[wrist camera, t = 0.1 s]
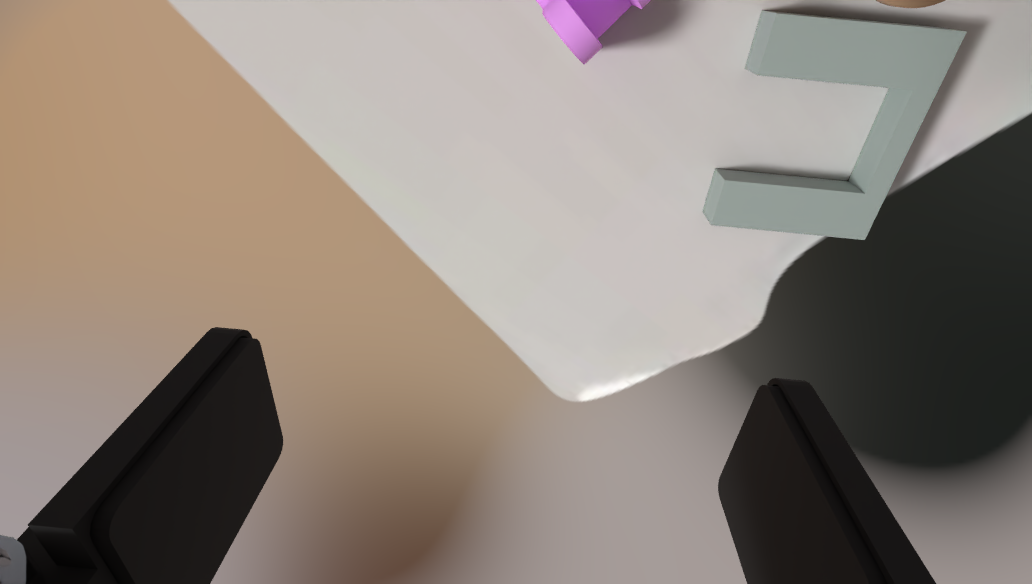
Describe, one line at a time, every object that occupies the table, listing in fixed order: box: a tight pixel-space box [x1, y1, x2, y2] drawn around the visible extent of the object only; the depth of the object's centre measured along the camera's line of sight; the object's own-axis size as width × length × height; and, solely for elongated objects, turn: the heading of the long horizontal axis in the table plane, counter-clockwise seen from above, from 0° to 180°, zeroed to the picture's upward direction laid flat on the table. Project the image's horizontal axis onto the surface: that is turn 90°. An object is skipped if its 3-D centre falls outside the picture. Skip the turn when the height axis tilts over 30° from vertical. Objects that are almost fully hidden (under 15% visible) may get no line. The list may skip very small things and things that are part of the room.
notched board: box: [703, 10, 967, 240], centre depth 36 cm, size 14×12×2 cm
